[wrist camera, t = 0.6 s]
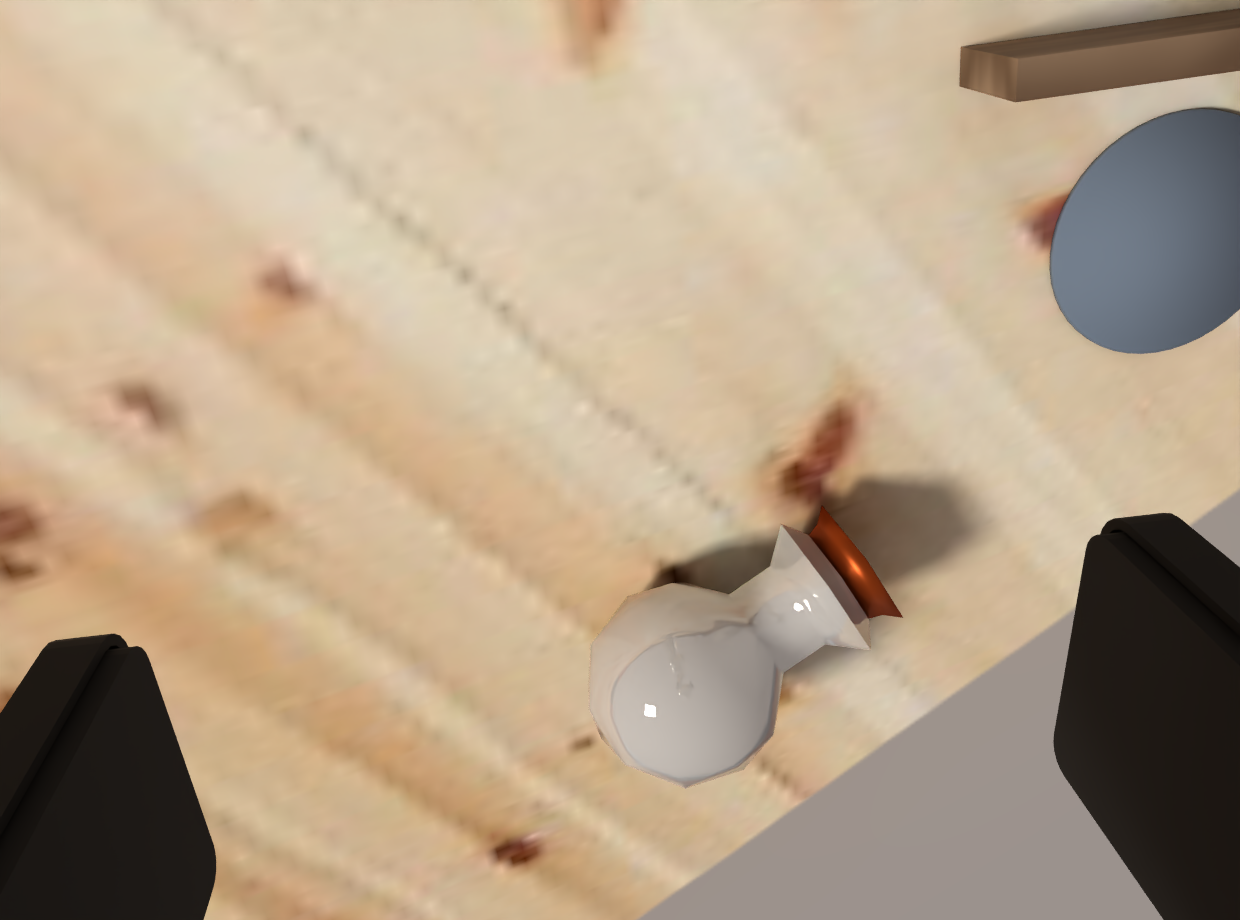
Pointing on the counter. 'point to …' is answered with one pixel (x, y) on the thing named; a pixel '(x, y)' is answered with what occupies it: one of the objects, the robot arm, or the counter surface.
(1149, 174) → the mat
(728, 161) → the counter surface
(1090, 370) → the counter surface
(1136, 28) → the low wall
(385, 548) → the counter surface
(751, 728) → the potion bottle
